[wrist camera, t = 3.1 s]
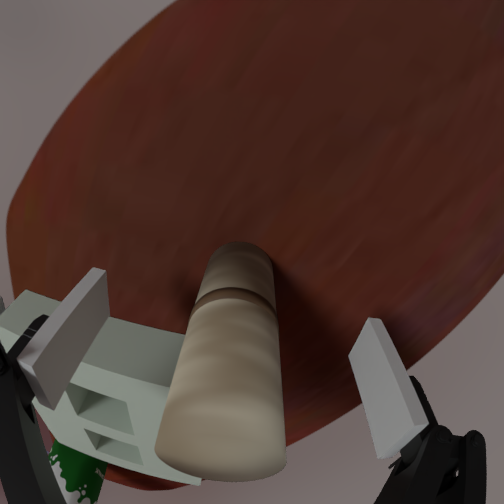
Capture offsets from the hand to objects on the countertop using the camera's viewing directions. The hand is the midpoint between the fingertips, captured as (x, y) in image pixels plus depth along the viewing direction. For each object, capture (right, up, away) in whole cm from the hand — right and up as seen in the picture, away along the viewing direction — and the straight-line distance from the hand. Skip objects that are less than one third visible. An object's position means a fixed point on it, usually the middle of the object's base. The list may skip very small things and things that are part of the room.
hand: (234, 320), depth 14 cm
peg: (0, +2, +4) cm, 5 cm away
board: (-12, -11, +10) cm, 19 cm away
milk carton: (-26, -27, +19) cm, 42 cm away
